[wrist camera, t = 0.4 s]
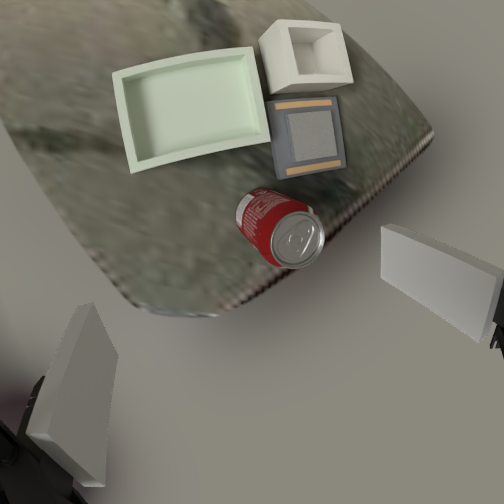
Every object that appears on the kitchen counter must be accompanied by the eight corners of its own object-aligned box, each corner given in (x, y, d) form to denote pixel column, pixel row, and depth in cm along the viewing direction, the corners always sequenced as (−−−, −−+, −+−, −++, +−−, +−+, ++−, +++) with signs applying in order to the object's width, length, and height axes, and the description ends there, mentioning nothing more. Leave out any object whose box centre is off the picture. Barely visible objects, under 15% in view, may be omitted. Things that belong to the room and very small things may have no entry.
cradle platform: (284, 114, 32) (288, 114, 31) (326, 111, 33) (330, 110, 33) (292, 161, 35) (296, 161, 34) (333, 154, 36) (337, 155, 35)
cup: (258, 39, 29) (277, 19, 23) (313, 39, 31) (339, 23, 24) (269, 94, 32) (291, 83, 26) (324, 91, 34) (353, 82, 27)
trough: (116, 79, 26) (111, 72, 24) (245, 54, 29) (252, 46, 27) (134, 171, 31) (130, 173, 28) (262, 141, 34) (270, 141, 31)
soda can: (223, 220, 36) (248, 251, 25) (255, 177, 35) (295, 189, 25) (263, 248, 39) (301, 287, 28) (293, 207, 38) (342, 232, 27)
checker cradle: (263, 103, 32) (266, 101, 31) (331, 97, 34) (336, 96, 33) (276, 178, 36) (280, 179, 35) (341, 166, 38) (347, 167, 37)
